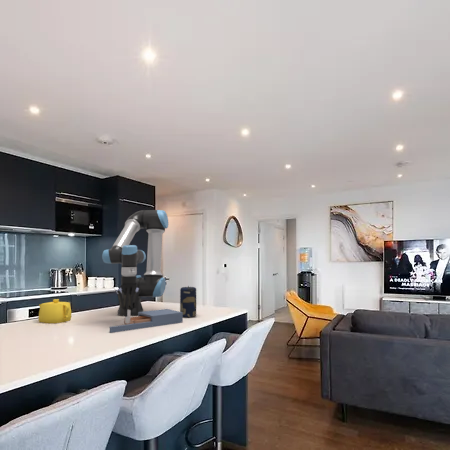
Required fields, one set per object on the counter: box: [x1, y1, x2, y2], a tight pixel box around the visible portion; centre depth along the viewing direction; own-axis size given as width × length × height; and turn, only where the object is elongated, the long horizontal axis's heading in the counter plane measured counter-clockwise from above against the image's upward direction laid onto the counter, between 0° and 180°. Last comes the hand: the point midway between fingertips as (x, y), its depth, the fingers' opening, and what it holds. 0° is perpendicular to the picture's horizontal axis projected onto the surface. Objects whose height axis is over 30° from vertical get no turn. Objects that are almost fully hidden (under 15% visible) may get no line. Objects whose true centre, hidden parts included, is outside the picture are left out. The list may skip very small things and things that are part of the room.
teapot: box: [38, 298, 72, 325], centre depth 190 cm, size 20×12×12 cm, turn 70°
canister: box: [179, 285, 197, 318], centre depth 205 cm, size 10×10×18 cm
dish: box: [123, 315, 151, 325], centre depth 180 cm, size 11×16×4 cm
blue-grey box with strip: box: [108, 308, 184, 334], centre depth 179 cm, size 16×40×5 cm, turn 130°
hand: (127, 322), depth 174 cm, fingers closed
